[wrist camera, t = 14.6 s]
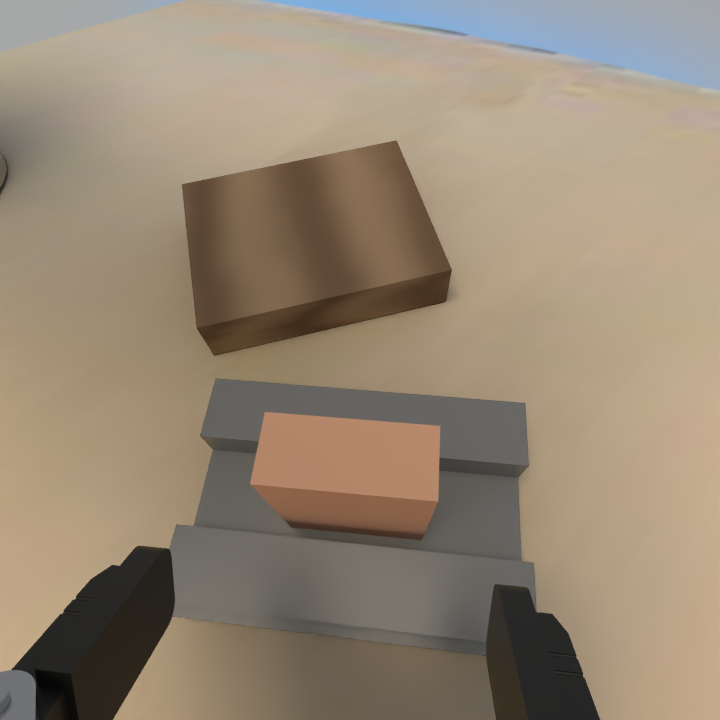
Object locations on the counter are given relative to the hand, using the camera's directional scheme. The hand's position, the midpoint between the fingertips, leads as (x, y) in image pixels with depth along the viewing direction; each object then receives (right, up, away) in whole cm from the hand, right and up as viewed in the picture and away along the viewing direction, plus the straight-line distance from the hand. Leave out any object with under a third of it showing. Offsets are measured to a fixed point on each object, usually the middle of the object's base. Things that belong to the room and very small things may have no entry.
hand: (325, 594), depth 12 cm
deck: (-2, +12, +20) cm, 23 cm away
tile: (+1, -1, +11) cm, 11 cm away
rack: (+1, -2, +12) cm, 12 cm away
